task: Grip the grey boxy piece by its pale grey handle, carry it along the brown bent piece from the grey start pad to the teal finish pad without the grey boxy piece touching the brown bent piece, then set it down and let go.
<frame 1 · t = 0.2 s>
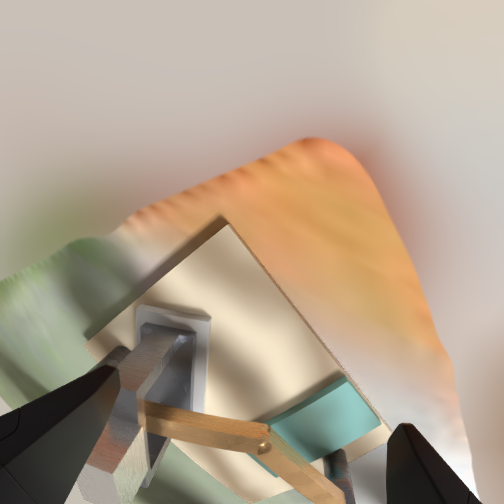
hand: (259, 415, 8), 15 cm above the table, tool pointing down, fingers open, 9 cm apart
brown bent piece: (266, 379, 24), resting on stand
grey boxy piece: (169, 375, 23), point 2 cm above the table, touching stand
stand: (241, 399, 25), on the table
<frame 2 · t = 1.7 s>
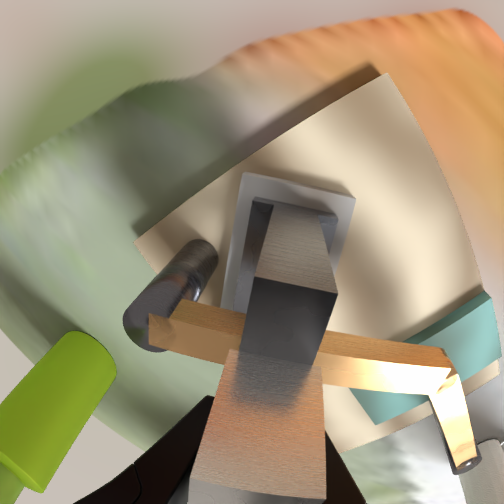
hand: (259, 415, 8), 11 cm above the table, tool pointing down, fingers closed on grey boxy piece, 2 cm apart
brown bent piece: (396, 292, 18), resting on stand
paper towel roll: (479, 451, 24), on the table
grey boxy piece: (277, 282, 17), point 2 cm above the table, touching gripper, stand
soap dispenser: (86, 358, 24), on the table
stand: (358, 320, 19), on the table
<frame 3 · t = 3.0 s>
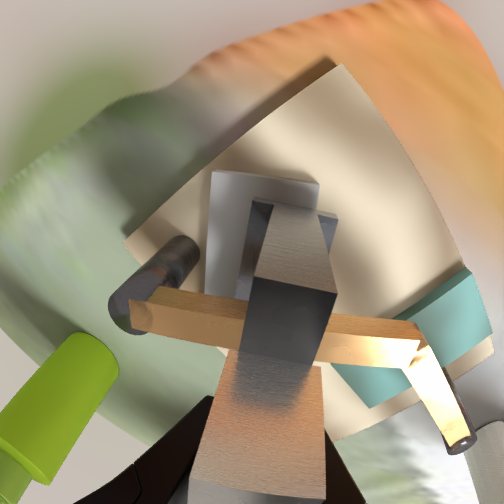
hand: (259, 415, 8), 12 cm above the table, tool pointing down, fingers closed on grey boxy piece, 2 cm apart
brown bent piece: (375, 273, 19), resting on stand
paper towel roll: (486, 434, 24), on the table
grey boxy piece: (277, 282, 17), point 3 cm above the table, touching gripper
soap dispenser: (90, 358, 26), on the table
stand: (340, 304, 20), on the table
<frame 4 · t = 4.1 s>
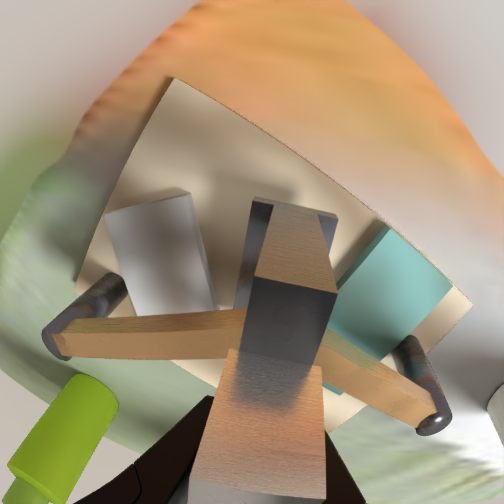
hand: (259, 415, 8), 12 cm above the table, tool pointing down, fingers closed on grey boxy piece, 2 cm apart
brown bent piece: (288, 259, 20), resting on stand
grey boxy piece: (277, 282, 17), point 3 cm above the table, touching gripper
soap dispenser: (93, 395, 28), on the table
stand: (266, 298, 21), on the table
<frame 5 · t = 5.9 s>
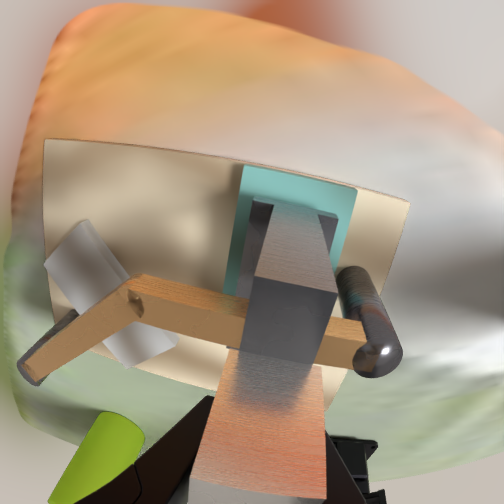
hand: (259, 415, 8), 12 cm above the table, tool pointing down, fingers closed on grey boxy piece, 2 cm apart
brown bent piece: (187, 240, 20), resting on stand
grey boxy piece: (277, 282, 17), point 3 cm above the table, touching gripper
soap dispenser: (121, 429, 30), on the table
stand: (190, 283, 21), on the table
when the fingers open (11 cm above the table, at t = 6.6 s): grey boxy piece stays where it is, resting on stand.
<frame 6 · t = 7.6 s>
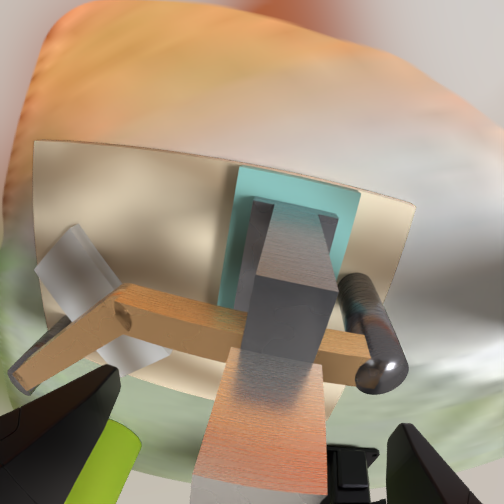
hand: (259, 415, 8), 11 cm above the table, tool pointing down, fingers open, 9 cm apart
brown bent piece: (181, 245, 19), resting on stand
grey boxy piece: (278, 282, 17), point 2 cm above the table, touching stand
soap dispenser: (118, 436, 29), on the table
stand: (184, 290, 20), on the table
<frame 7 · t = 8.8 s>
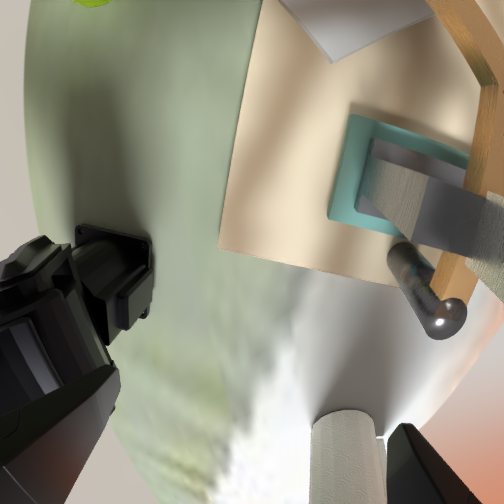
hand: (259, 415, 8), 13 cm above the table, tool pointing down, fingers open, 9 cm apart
brown bent piece: (436, 98, 15), resting on stand
paper towel roll: (344, 428, 26), on the table
grey boxy piece: (429, 193, 16), point 2 cm above the table, touching stand
stand: (392, 89, 16), on the table
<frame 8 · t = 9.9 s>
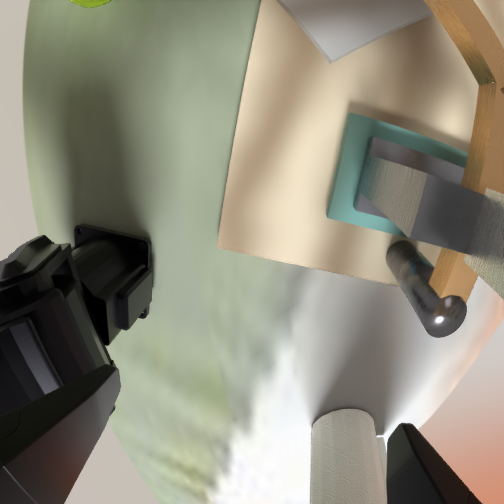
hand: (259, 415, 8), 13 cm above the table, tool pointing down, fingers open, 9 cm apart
brown bent piece: (434, 96, 16), resting on stand
paper towel roll: (344, 427, 26), on the table
grey boxy piece: (428, 191, 16), point 2 cm above the table, touching stand
stand: (391, 88, 16), on the table
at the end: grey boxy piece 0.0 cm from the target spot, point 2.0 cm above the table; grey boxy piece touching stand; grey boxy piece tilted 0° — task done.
